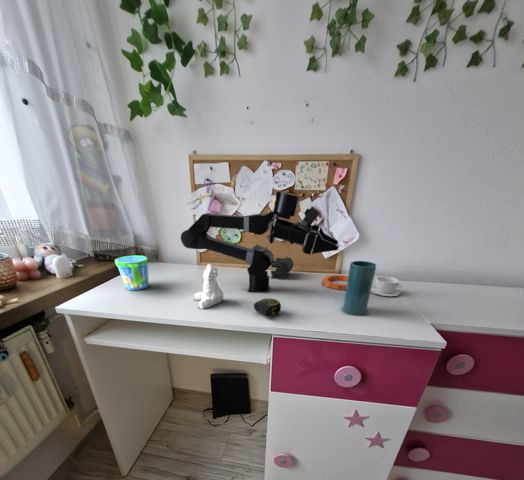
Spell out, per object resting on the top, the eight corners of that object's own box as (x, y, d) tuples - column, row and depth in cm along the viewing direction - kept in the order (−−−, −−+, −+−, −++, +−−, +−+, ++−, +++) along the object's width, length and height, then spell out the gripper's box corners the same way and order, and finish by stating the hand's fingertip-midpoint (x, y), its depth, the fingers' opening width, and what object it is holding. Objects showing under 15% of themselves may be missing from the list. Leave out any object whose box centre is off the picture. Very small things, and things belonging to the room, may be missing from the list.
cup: (344, 314, 80) (353, 266, 73) (341, 305, 86) (348, 260, 79) (368, 315, 80) (379, 267, 72) (363, 306, 85) (372, 261, 78)
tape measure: (252, 312, 81) (252, 300, 79) (271, 307, 84) (271, 296, 82) (265, 320, 76) (266, 308, 74) (285, 315, 79) (285, 303, 77)
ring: (325, 289, 100) (325, 284, 99) (321, 278, 111) (322, 274, 110) (363, 290, 99) (363, 286, 98) (355, 279, 110) (356, 275, 109)
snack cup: (155, 292, 95) (148, 262, 90) (122, 296, 92) (113, 265, 86) (151, 279, 107) (146, 253, 102) (122, 282, 104) (115, 255, 98)
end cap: (287, 280, 108) (288, 262, 105) (270, 278, 110) (271, 261, 107) (293, 273, 116) (294, 257, 113) (277, 272, 118) (277, 256, 115)
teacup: (364, 292, 97) (367, 279, 94) (376, 286, 103) (379, 273, 101) (393, 299, 91) (397, 286, 88) (403, 292, 97) (407, 279, 95)
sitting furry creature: (194, 298, 90) (189, 261, 84) (219, 295, 93) (217, 259, 87) (200, 309, 83) (196, 269, 76) (227, 305, 86) (225, 266, 79)
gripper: (293, 206, 74) (349, 221, 73) (300, 202, 90) (346, 214, 89) (283, 247, 80) (334, 262, 79) (291, 237, 96) (334, 249, 95)
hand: (337, 245), depth 85 cm, fingers open, 9 cm apart
